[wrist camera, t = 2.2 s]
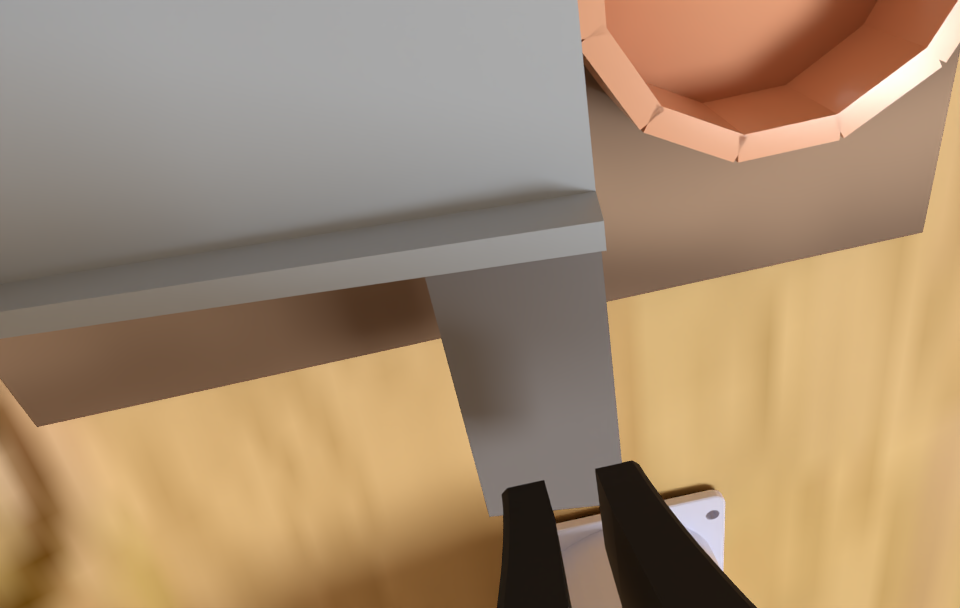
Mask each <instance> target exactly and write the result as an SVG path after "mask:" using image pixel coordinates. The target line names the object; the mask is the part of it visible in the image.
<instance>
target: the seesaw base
mask: <svg viewBox="0 0 960 608" xmlns="http://www.w3.org/2000/svg"><path fill="white" fill-rule="evenodd" d="M959 53H960V43H959V44H958V46H957V47H956V49H955V50H954V52H953V53H952V55H951V56H950V58H949V59H948V60H947V62H943V61H941V60H939V61H940V63H941V66H942V67H941V68H940V69H938V70H937V71H936V72H934V73H933V74H931V75H930V76H929V77H927V78H926V79H925V80H923V81H922V82H920V83H919V84H918V85H916V86H915V87H914V88H912V89H911V90H909V91H908V92H907V93H905V94H904V95H903V96H901V97H900V98H899V99H897V100H896V101H894V102H893V103H892V104H890V105H889V106H888V107H886V108H885V109H883V110H882V111H881V112H879V113H878V114H877V115H875V116H874V117H872V118H871V119H870V120H868V121H867V122H866V123H864V124H863V125H861V126H860V127H859V128H857V129H856V130H855V131H853V132H852V133H851V134H849V135H848V136H846V137H845V138H843V137H841V136H840V140H839V141H834V142H830V143H825V144H821V145H816V146H812V147H807V148H802V149H798V150H793V151H789V152H784V153H780V154H775V155H771V156H766V157H762V158H757V159H753V160H748V161H743V162H739V163H738V162H737V161H736V160H735V161H734V162H731V161H728V160H725V159H722V158H719V157H716V156H713V155H709V154H706V153H703V152H700V151H697V150H694V149H691V148H688V147H685V146H682V145H679V144H676V143H673V142H670V141H667V140H664V139H661V138H658V137H655V136H652V135H649V134H646V133H643V132H642V131H641V130H639V129H638V127H637V126H636V125H635V124H634V123H633V122H632V121H631V120H630V119H629V118H628V117H627V116H626V115H625V114H624V112H623V111H622V110H621V109H620V108H619V107H618V106H617V105H616V104H615V103H614V102H613V101H612V100H611V99H610V97H609V96H608V95H607V94H606V93H605V92H604V91H603V89H602V88H601V87H600V85H599V84H598V83H597V81H596V80H595V79H594V77H593V76H592V75H591V73H590V72H589V71H588V69H587V68H586V67H585V65H584V74H585V84H586V95H587V105H588V115H589V126H590V136H591V147H592V157H593V168H594V178H595V189H596V194H597V197H598V201H599V205H600V208H601V212H602V216H603V219H604V227H605V238H606V249H607V251H602V262H603V272H604V283H605V293H606V302H608V301H612V300H617V299H622V298H626V297H631V296H635V295H640V294H644V293H649V292H653V291H658V290H662V289H667V288H672V287H676V286H681V285H685V284H690V283H694V282H699V281H703V280H708V279H713V278H717V277H722V276H726V275H731V274H735V273H740V272H744V271H749V270H753V269H758V268H763V267H767V266H772V265H776V264H781V263H785V262H790V261H794V260H799V259H803V258H808V257H813V256H817V255H822V254H826V253H831V252H835V251H840V250H844V249H849V248H854V247H858V246H863V245H867V244H872V243H876V242H881V241H885V240H890V239H894V238H899V237H904V236H908V235H913V234H917V233H922V232H923V228H924V224H925V219H926V214H927V209H928V204H929V199H930V194H931V189H932V185H933V180H934V175H935V170H936V165H937V160H938V155H939V150H940V146H941V141H942V136H943V131H944V126H945V121H946V116H947V112H948V107H949V102H950V97H951V92H952V87H953V82H954V77H955V73H956V68H957V63H958V58H959ZM440 338H441V335H440V331H439V328H438V324H437V320H436V317H435V313H434V309H433V306H432V302H431V298H430V294H429V291H428V287H427V283H426V280H425V277H421V278H414V279H407V280H401V281H394V282H387V283H380V284H373V285H366V286H359V287H352V288H346V289H339V290H332V291H325V292H318V293H311V294H304V295H297V296H291V297H284V298H277V299H270V300H263V301H256V302H249V303H243V304H236V305H229V306H222V307H215V308H208V309H201V310H194V311H188V312H181V313H174V314H167V315H160V316H153V317H146V318H139V319H133V320H126V321H119V322H112V323H105V324H98V325H91V326H84V327H78V328H71V329H64V330H57V331H50V332H43V333H36V334H29V335H23V336H16V337H9V338H2V339H0V379H1V380H2V381H3V383H4V384H5V385H6V387H7V388H8V389H9V391H10V392H11V393H12V395H13V396H14V397H15V399H16V400H17V401H18V403H19V404H20V405H21V406H22V408H23V409H24V410H25V412H26V413H27V414H28V416H29V417H30V418H31V420H32V421H33V422H34V424H35V425H36V426H37V427H39V426H44V425H48V424H53V423H57V422H62V421H67V420H71V419H76V418H80V417H85V416H89V415H94V414H98V413H103V412H108V411H112V410H117V409H121V408H126V407H130V406H135V405H139V404H144V403H148V402H153V401H158V400H162V399H167V398H171V397H176V396H180V395H185V394H189V393H194V392H199V391H203V390H208V389H212V388H217V387H221V386H226V385H230V384H235V383H239V382H244V381H249V380H253V379H258V378H262V377H267V376H271V375H276V374H280V373H285V372H289V371H294V370H299V369H303V368H308V367H312V366H317V365H321V364H326V363H330V362H335V361H340V360H344V359H349V358H353V357H358V356H362V355H367V354H371V353H376V352H380V351H385V350H390V349H394V348H399V347H403V346H408V345H412V344H417V343H421V342H426V341H430V340H435V339H440Z"/></svg>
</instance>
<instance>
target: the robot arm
mask: <svg viewBox="0 0 960 608" xmlns="http://www.w3.org/2000/svg"><path fill="white" fill-rule="evenodd" d="M595 474H596V482H597V490H598V497H599V505H600V513H601V514H597V515H593V516H588V517H583V518H579V519H574V520H570V521H565V522H561V523H556V521H555V517H554V513H553V510H552V506H551V503H550V499H549V495H548V492H547V488H546V485H545V481H544V480H541V481H537V482H532V483H528V484H523V485H518V486H514V487H509V488H507V489H506V490H505V491H504V492H503V493H502V504H503V553H502V568H501V578H500V586H499V595H498V603H497V608H757V607H756V606H755V605H754V604H753V603H752V602H751V601H750V600H749V599H748V598H747V597H746V596H745V595H744V594H743V593H742V592H741V591H740V590H739V588H738V587H737V586H736V585H735V584H734V583H733V582H732V581H731V580H730V579H729V578H728V577H727V575H726V574H725V573H724V572H723V564H724V529H725V500H724V498H723V496H722V494H721V493H720V492H719V491H717V490H707V491H702V492H698V493H693V494H689V495H684V496H679V497H675V498H670V499H666V500H663V499H662V497H661V496H660V494H659V493H658V492H657V490H656V489H655V488H654V486H653V485H652V483H651V482H650V480H649V479H648V477H647V476H646V474H645V473H644V471H643V470H642V468H641V467H640V465H639V464H637V463H636V462H634V461H628V462H623V463H619V464H614V465H610V466H605V467H601V468H596V469H595Z"/></svg>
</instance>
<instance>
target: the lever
mask: <svg viewBox="0 0 960 608" xmlns="http://www.w3.org/2000/svg"><path fill="white" fill-rule="evenodd" d="M602 251H607V249H606V238H605V227H604V219H603V216H602V212H601V208H600V205H599V201H598V197H597V194H596V189H595V178H594V168H593V157H592V147H591V136H590V126H589V115H588V105H587V95H586V84H585V74H584V63H583V53H582V42H581V32H580V21H579V11H578V1H577V0H0V339H2V338H9V337H16V336H23V335H29V334H36V333H43V332H50V331H57V330H64V329H71V328H78V327H84V326H91V325H98V324H105V323H112V322H119V321H126V320H133V319H139V318H146V317H153V316H160V315H167V314H174V313H181V312H188V311H194V310H201V309H208V308H215V307H222V306H229V305H236V304H243V303H249V302H256V301H263V300H270V299H277V298H284V297H291V296H297V295H304V294H311V293H318V292H325V291H332V290H339V289H346V288H352V287H359V286H366V285H373V284H380V283H387V282H394V281H401V280H407V279H414V278H421V277H425V280H426V283H427V287H428V291H429V294H430V298H431V302H432V306H433V309H434V313H435V317H436V320H437V324H438V328H439V331H440V335H441V339H442V343H443V346H444V350H445V354H446V357H447V361H448V365H449V369H450V372H451V376H452V380H453V383H454V387H455V391H456V394H457V398H458V402H459V406H460V409H461V413H462V417H463V420H464V424H465V428H466V432H467V435H468V439H469V443H470V446H471V450H472V454H473V457H474V461H475V465H476V469H477V472H478V476H479V480H480V483H481V487H482V491H483V495H484V498H485V502H486V506H487V509H488V513H489V517H491V516H501V515H503V504H502V493H503V492H504V491H505V490H506V489H507V488H509V487H514V486H518V485H523V484H528V483H532V482H537V481H541V480H544V481H545V485H546V488H547V492H548V495H549V499H550V503H551V506H552V510H560V509H570V508H580V507H589V506H599V497H598V490H597V482H596V474H595V469H596V468H601V467H605V466H610V465H614V464H619V463H622V460H621V450H620V439H619V429H618V419H617V408H616V398H615V387H614V377H613V366H612V356H611V345H610V335H609V324H608V314H607V304H606V293H605V283H604V272H603V262H602Z"/></svg>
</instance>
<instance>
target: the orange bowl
mask: <svg viewBox="0 0 960 608" xmlns="http://www.w3.org/2000/svg"><path fill="white" fill-rule="evenodd" d="M577 1H578V11H579V21H580V32H581V42H582V53H583V63H584V65H585V67H586V68H587V69H588V71H589V72H590V73H591V75H592V76H593V77H594V79H595V80H596V81H597V83H598V84H599V85H600V87H601V88H602V89H603V91H604V92H605V93H606V94H607V95H608V96H609V97H610V99H611V100H612V101H613V102H614V103H615V104H616V105H617V106H618V107H619V108H620V109H621V110H622V111H623V112H624V114H625V115H626V116H627V117H628V118H629V119H630V120H631V121H632V122H633V123H634V124H635V125H636V126H637V127H638V129H639V130H641V131H642V132H643V133H646V134H649V135H652V136H655V137H658V138H661V139H664V140H667V141H670V142H673V143H676V144H679V145H682V146H685V147H688V148H691V149H694V150H697V151H700V152H703V153H706V154H709V155H713V156H716V157H719V158H722V159H725V160H728V161H731V162H734V161H735V160H736V161H737V162H738V163H739V162H743V161H748V160H753V159H757V158H762V157H766V156H771V155H775V154H780V153H784V152H789V151H793V150H798V149H802V148H807V147H812V146H816V145H821V144H825V143H830V142H834V141H839V140H840V136H841V137H843V138H845V137H846V136H848V135H849V134H851V133H852V132H853V131H855V130H856V129H857V128H859V127H860V126H861V125H863V124H864V123H866V122H867V121H868V120H870V119H871V118H872V117H874V116H875V115H877V114H878V113H879V112H881V111H882V110H883V109H885V108H886V107H888V106H889V105H890V104H892V103H893V102H894V101H896V100H897V99H899V98H900V97H901V96H903V95H904V94H905V93H907V92H908V91H909V90H911V89H912V88H914V87H915V86H916V85H918V84H919V83H920V82H922V81H923V80H925V79H926V78H927V77H929V76H930V75H931V74H933V73H934V72H936V71H937V70H938V69H940V68H941V67H942V66H941V63H940V61H939V60H941V61H943V62H947V60H948V59H949V58H950V56H951V55H952V53H953V52H954V50H955V49H956V47H957V46H958V44H959V43H960V0H577Z"/></svg>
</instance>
